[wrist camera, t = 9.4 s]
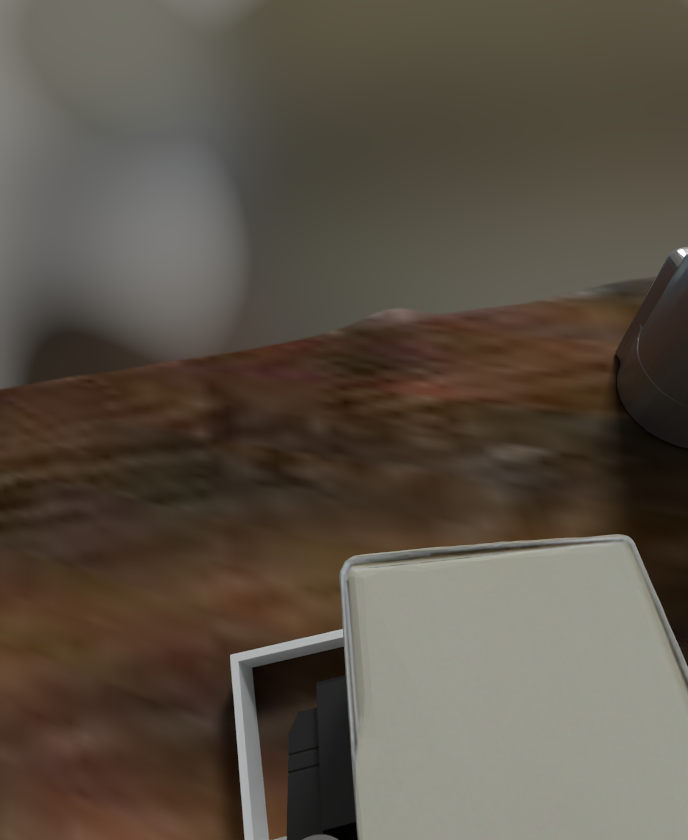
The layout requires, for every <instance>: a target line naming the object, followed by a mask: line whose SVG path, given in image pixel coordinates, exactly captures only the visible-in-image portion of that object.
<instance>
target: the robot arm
mask: <svg viewBox="0 0 688 840" xmlns="http://www.w3.org/2000/svg"><path fill="white" fill-rule="evenodd" d="M616 355H617V356H618V358H619V360H620V368H619V371H618V375H617V389H618V393H619V396H620V400H621V401H622V403H623V405H624V407H625V409H626V410H627V412H628V413H629V414H630V415H631V417H632V418H633V419H634V420H635V421H636V422H637V423H638V424H639V425H640V426H642V427H643V428H644V429H645V430H646V431H648V432H649V433H651V434H653V435H654V436H656V437H658V438H660V439H661V440H663V441H666V442H668V443H671V444H673V445H676V446H679V447H684V448H688V247H685V248H681V249H677V250H675V251H673V252H671V253H670V254H669V256H668V257H667V259H666V261H665V263H664V264H663V266H662V268H661V270H660V272H659V274H658V275H657V277H656V279H655V281H654V283H653V284H652V286H651V288H650V290H649V292H648V294H647V295H646V297H645V299H644V301H643V303H642V304H641V306H640V308H639V310H638V312H637V314H636V315H635V317H634V319H633V321H632V323H631V325H630V326H629V328H628V330H627V332H626V334H625V335H624V337H623V339H622V341H621V343H620V345H619V346H618V348H617V350H616ZM316 693H317V708H313V709H309V710H305V711H301V712H298V714H297V717H296V719H295V721H294V723H293V725H292V728H291V730H290V732H289V760H288V773H289V776H288V803H287V840H358V837H357V825H356V813H355V799H354V786H353V772H352V758H351V742H350V729H349V717H348V701H347V684H346V675H344V676H340V677H336V678H332V679H328V680H324V681H320V682H317V683H316Z"/></svg>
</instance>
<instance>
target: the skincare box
mask: <svg viewBox="0 0 688 840" xmlns="http://www.w3.org/2000/svg"><path fill="white" fill-rule="evenodd" d="M339 580H340V591H341V605H342V623H343V640H344V655H345V669H346V684H347V701H348V717H349V729H350V742H351V758H352V772H353V786H354V799H355V813H356V825H357V837H358V840H688V666H687V664H686V662H685V659H684V657H683V654H682V652H681V649H680V647H679V645H678V643H677V640H676V638H675V636H674V634H673V631H672V629H671V627H670V625H669V623H668V620H667V618H666V615H665V612H664V610H663V607H662V605H661V603H660V601H659V598H658V596H657V594H656V592H655V590H654V587H653V585H652V583H651V580H650V578H649V576H648V573H647V571H646V569H645V566H644V564H643V562H642V559H641V557H640V555H639V552H638V550H637V547H636V545H635V543H634V541H633V540H632V539H631V538H630V537H628V536H625V535H619V534H615V535H605V536H594V537H584V538H558V539H544V540H531V541H513V542H497V543H483V544H477V545H461V546H451V547H435V548H424V549H414V550H405V551H395V552H384V553H374V554H365V555H358V556H353V557H351V558H349V559H348V560H347V561H345V563H344V565H343V567H342V569H341V571H340V577H339Z"/></svg>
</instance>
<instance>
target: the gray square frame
mask: <svg viewBox="0 0 688 840" xmlns="http://www.w3.org/2000/svg"><path fill="white" fill-rule="evenodd" d="M339 647H344V640H343V629H341V630H337V631H332V632H328V633H324V634H319V635H315V636H311V637H306V638H302V639H298V640H293V641H289V642H284V643H280V644H276V645H271V646H267V647H263V648H258V649H254V650H250V651H245V652H241V653H237V654H232V655H230V660H231V672H232V685H233V698H234V710H235V723H236V736H237V749H238V761H239V774H240V787H241V799H242V812H243V825H244V837H245V840H269V834H268V824H267V814H266V804H265V794H264V783H263V773H262V763H261V753H260V743H259V732H258V722H257V712H256V702H255V692H254V681H253V671H252V668H253V667H257V666H262V665H266V664H270V663H275V662H279V661H283V660H288V659H292V658H296V657H301V656H305V655H309V654H313V653H318V652H322V651H326V650H331V649H335V648H339ZM274 840H287V836H286V837H282V838H278V839H274Z"/></svg>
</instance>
